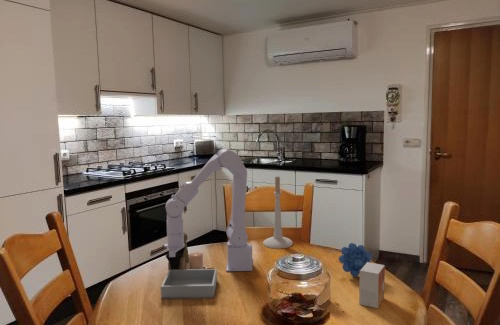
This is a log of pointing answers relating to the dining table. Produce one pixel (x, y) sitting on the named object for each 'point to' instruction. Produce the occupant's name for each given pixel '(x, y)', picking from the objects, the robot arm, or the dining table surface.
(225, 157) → the robot arm
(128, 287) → the dining table surface
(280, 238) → the candlestick
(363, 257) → the blue flower
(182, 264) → the walnut cube
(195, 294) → the tote
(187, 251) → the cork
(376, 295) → the small box
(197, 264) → the terracotta cylinder
